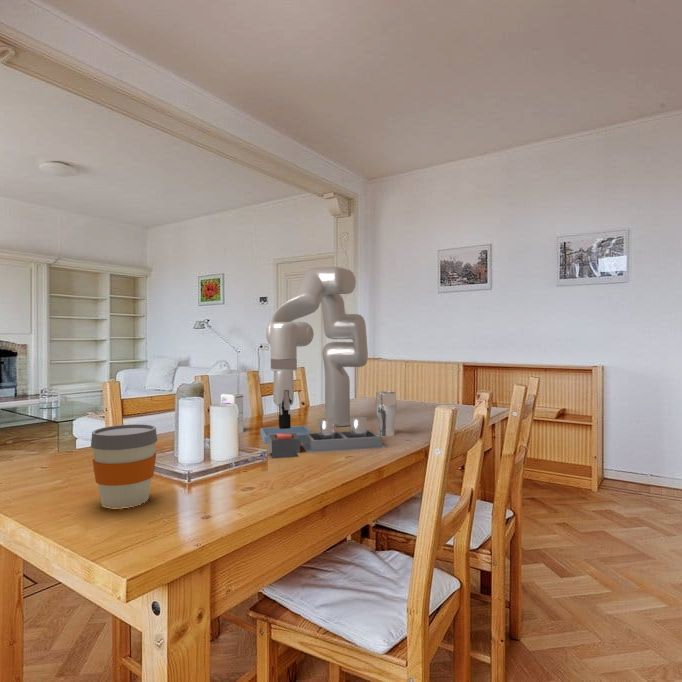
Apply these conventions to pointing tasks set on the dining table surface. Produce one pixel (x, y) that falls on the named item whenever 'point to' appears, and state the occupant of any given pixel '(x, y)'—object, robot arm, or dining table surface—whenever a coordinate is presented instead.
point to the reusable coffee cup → (124, 463)
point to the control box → (284, 446)
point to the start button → (283, 436)
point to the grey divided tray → (342, 442)
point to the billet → (326, 428)
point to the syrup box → (235, 399)
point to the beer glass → (386, 412)
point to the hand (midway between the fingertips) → (284, 428)
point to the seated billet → (358, 427)
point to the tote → (276, 430)
